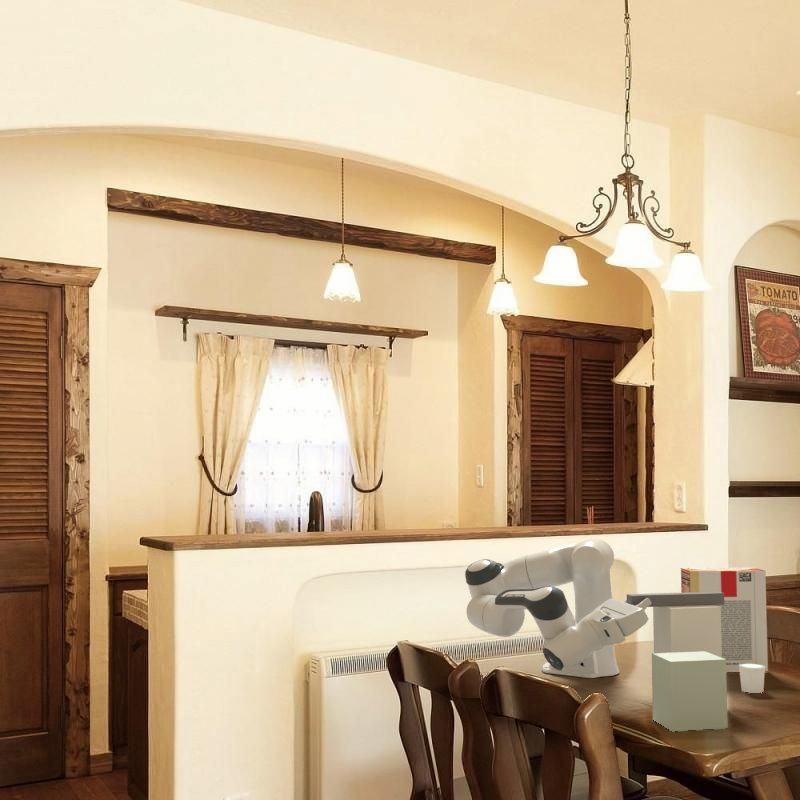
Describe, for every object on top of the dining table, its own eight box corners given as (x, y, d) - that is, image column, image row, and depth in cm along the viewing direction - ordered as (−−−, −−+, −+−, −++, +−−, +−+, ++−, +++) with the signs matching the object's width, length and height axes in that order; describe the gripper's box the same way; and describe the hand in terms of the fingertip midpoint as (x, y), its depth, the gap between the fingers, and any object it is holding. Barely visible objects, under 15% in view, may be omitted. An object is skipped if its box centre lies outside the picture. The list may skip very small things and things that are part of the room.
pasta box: (756, 666, 292) (754, 567, 294) (767, 672, 284) (765, 570, 286) (682, 667, 291) (680, 568, 293) (692, 673, 283) (690, 571, 285)
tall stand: (672, 708, 243) (670, 608, 245) (654, 698, 253) (653, 602, 254) (722, 705, 246) (720, 607, 247) (703, 696, 255) (701, 601, 257)
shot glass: (763, 695, 256) (762, 669, 257) (736, 692, 260) (735, 666, 260) (768, 690, 262) (767, 664, 262) (742, 687, 266) (741, 661, 266)
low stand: (672, 731, 222) (670, 661, 223) (652, 720, 231) (651, 653, 232) (727, 728, 224) (726, 659, 225) (706, 717, 234) (704, 651, 235)
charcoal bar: (631, 607, 246) (631, 595, 247) (626, 605, 249) (626, 594, 250) (724, 604, 251) (724, 593, 251) (718, 603, 254) (718, 591, 254)
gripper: (591, 630, 256) (633, 603, 259) (623, 644, 236) (668, 615, 239) (580, 610, 256) (622, 583, 259) (611, 622, 236) (656, 593, 239)
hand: (644, 598), depth 249 cm, fingers open, 4 cm apart
